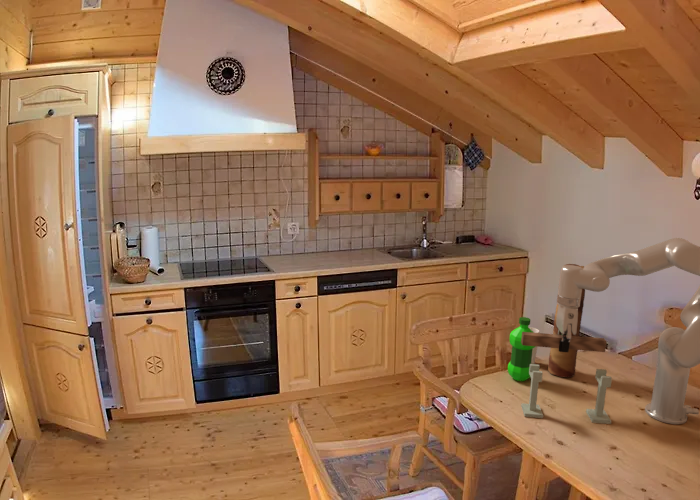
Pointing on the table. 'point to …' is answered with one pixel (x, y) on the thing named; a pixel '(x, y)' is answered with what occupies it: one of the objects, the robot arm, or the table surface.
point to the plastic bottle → (520, 352)
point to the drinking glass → (534, 347)
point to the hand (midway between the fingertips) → (562, 349)
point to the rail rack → (594, 414)
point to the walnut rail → (555, 339)
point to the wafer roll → (566, 361)
